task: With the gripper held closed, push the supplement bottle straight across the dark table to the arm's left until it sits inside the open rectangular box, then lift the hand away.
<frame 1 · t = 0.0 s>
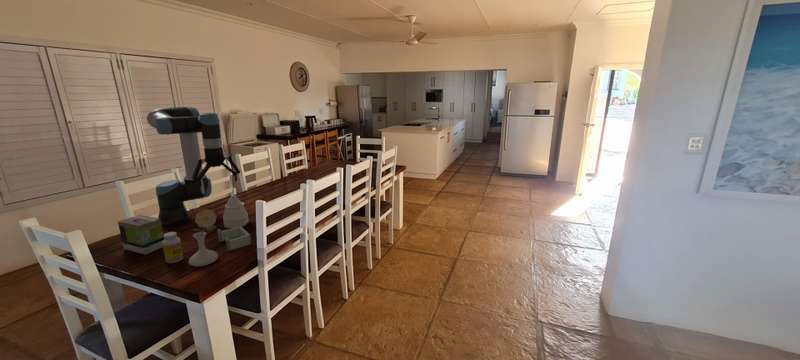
hand: (219, 190, 150), 28 cm above the table, fingers open, 13 cm apart
flower in vase: (206, 262, 141), on the table
open rectangular box: (235, 242, 158), on the table
tea box: (145, 248, 151), on the table
supplement bottle: (175, 260, 141), on the table
honey pot: (236, 223, 180), on the table
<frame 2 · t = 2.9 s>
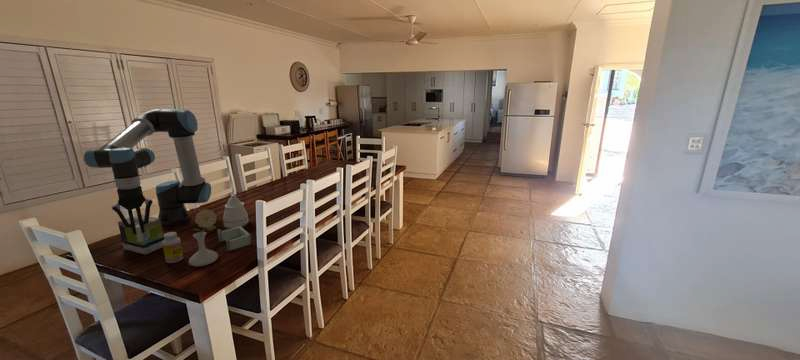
hand: (140, 240, 131), 13 cm above the table, fingers closed
nothing on the table moved.
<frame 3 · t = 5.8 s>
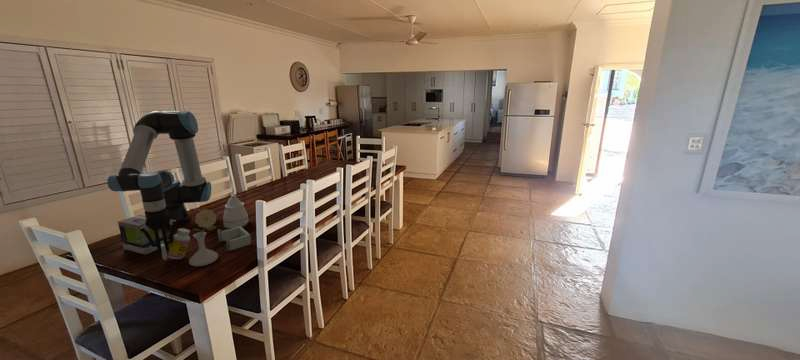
hand: (165, 258, 138), 2 cm above the table, fingers closed
supplement bottle: (175, 257, 141), point 1 cm above the table, touching gripper
everything else where it was.
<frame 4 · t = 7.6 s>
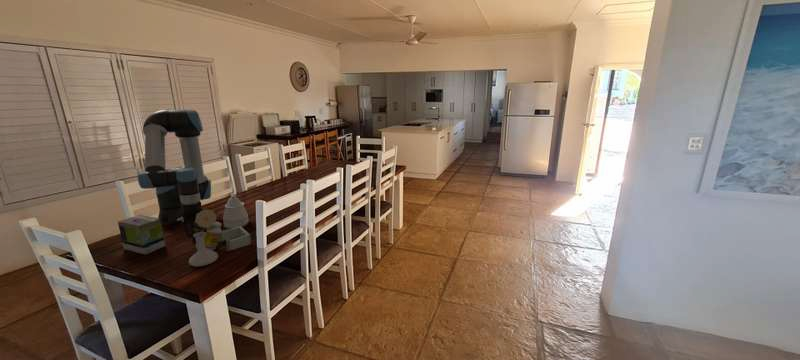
hand: (198, 248, 147), 2 cm above the table, fingers closed
supplement bottle: (207, 248, 150), point 1 cm above the table, touching gripper, hand
everything else where it was.
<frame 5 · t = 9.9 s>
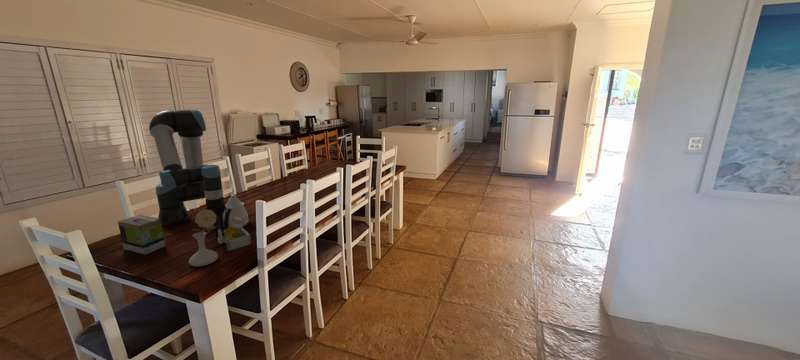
hand: (220, 242, 154), 2 cm above the table, fingers closed
supplement bottle: (229, 242, 156), point 1 cm above the table, touching gripper, hand
everything else where it was.
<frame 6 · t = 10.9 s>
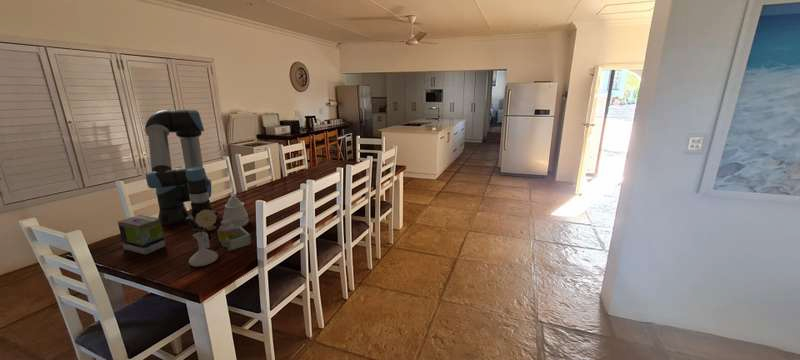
hand: (207, 246, 150), 2 cm above the table, fingers closed
supplement bottle: (229, 244, 156), on the table
everything else where it was.
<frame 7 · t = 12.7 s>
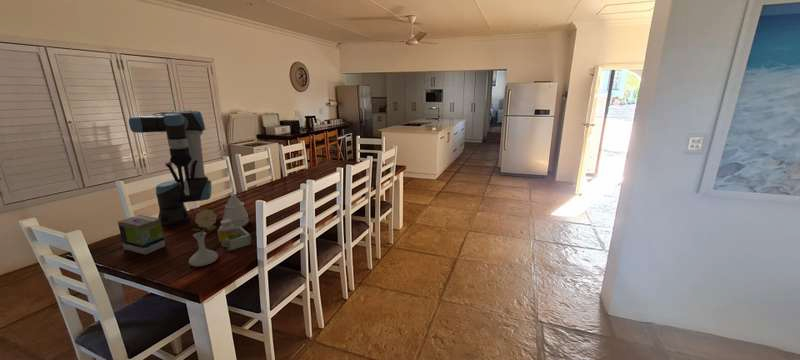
hand: (187, 194, 153), 25 cm above the table, fingers closed
nothing on the table moved.
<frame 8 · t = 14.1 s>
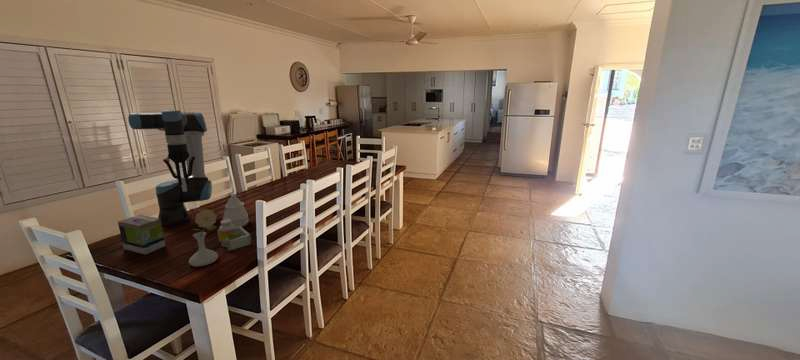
hand: (184, 190, 153), 26 cm above the table, fingers closed
nothing on the table moved.
at the end: supplement bottle inside the target area (2.4 cm from its centre), on the table; supplement bottle moved 22.6 cm from its start; supplement bottle touching table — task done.
